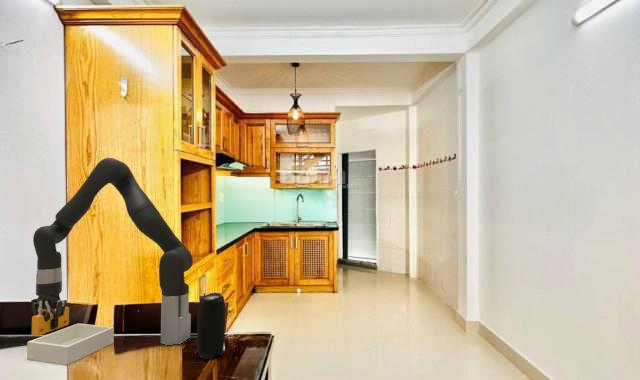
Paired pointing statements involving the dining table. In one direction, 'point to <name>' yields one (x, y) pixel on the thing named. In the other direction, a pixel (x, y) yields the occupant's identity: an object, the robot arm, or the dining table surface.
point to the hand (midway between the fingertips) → (48, 328)
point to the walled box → (70, 343)
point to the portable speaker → (211, 325)
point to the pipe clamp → (48, 323)
